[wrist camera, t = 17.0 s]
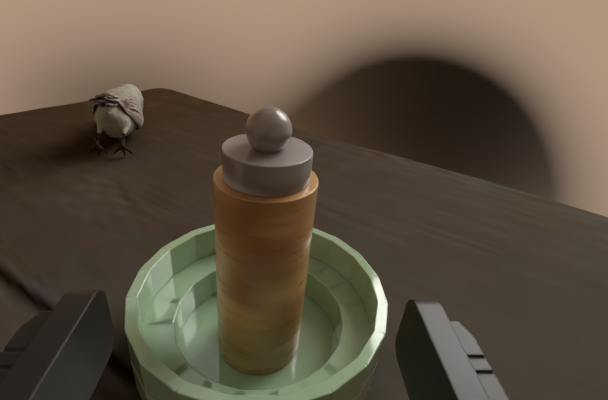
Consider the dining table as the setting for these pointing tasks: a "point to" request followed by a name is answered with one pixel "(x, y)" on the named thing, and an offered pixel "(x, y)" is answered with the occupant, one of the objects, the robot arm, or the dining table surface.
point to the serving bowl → (204, 327)
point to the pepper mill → (262, 242)
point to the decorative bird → (118, 114)
